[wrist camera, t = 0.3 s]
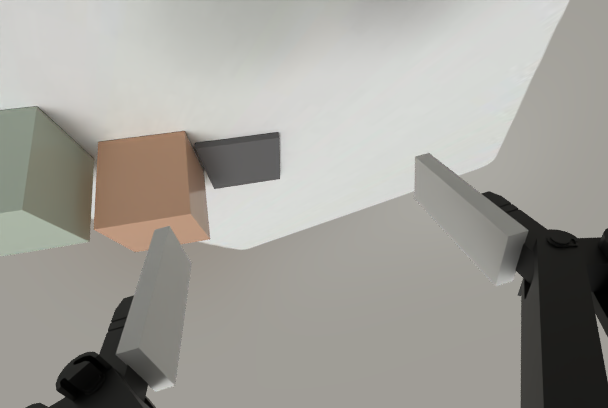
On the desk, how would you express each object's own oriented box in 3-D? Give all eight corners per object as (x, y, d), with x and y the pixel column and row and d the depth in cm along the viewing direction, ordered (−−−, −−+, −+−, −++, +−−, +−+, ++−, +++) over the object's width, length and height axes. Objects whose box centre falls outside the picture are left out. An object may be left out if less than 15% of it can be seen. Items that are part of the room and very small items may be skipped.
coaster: (195, 143, 37) (195, 148, 36) (278, 132, 38) (279, 137, 38) (213, 184, 47) (214, 188, 47) (279, 174, 48) (279, 178, 48)
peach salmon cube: (98, 141, 33) (93, 229, 29) (184, 131, 34) (190, 213, 31) (135, 180, 41) (135, 252, 38) (203, 170, 43) (210, 239, 39)
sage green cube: (-80, 119, 26) (-115, 230, 22) (36, 106, 27) (21, 209, 24) (7, 170, 34) (-8, 257, 31) (93, 159, 36) (89, 241, 32)
